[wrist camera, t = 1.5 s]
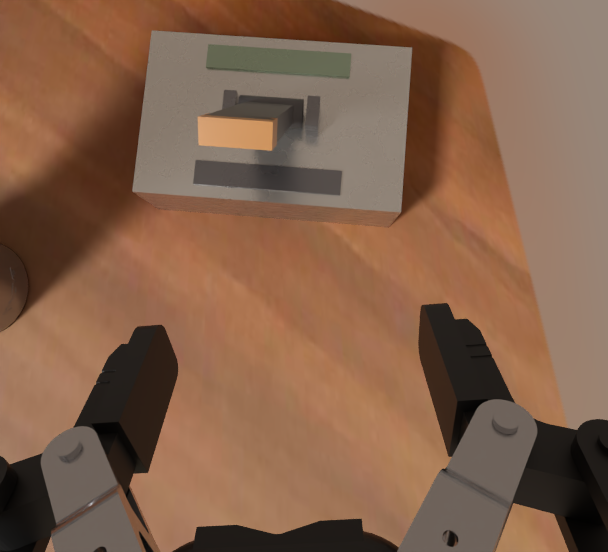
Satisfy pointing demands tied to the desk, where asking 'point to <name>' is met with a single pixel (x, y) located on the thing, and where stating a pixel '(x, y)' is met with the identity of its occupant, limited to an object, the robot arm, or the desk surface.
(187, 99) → the breaker box
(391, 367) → the desk surface
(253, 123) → the breaker lever
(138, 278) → the desk surface
